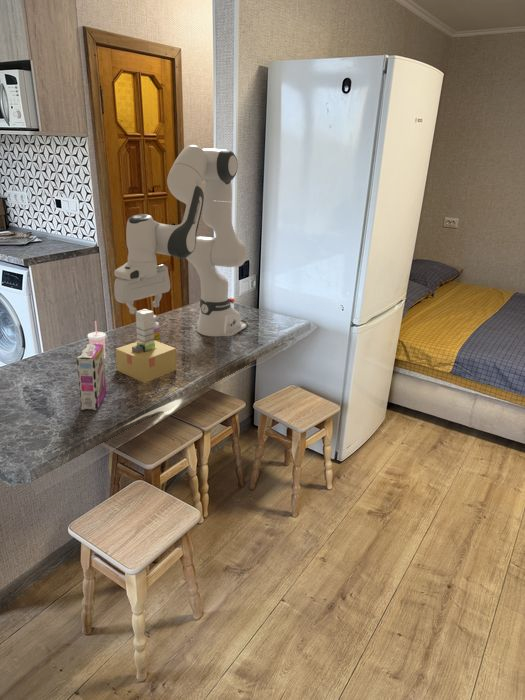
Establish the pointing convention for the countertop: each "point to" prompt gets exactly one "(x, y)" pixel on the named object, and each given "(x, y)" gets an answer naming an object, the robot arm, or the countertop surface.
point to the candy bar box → (91, 376)
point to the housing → (146, 361)
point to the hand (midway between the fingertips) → (144, 310)
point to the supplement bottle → (156, 330)
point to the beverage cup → (97, 338)
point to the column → (145, 329)
